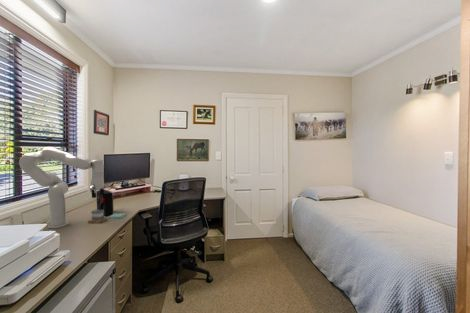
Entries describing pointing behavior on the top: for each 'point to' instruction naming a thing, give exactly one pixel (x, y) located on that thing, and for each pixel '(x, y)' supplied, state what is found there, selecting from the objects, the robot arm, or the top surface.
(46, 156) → the robot arm
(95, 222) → the stand
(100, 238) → the top surface
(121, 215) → the stand
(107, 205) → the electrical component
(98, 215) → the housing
